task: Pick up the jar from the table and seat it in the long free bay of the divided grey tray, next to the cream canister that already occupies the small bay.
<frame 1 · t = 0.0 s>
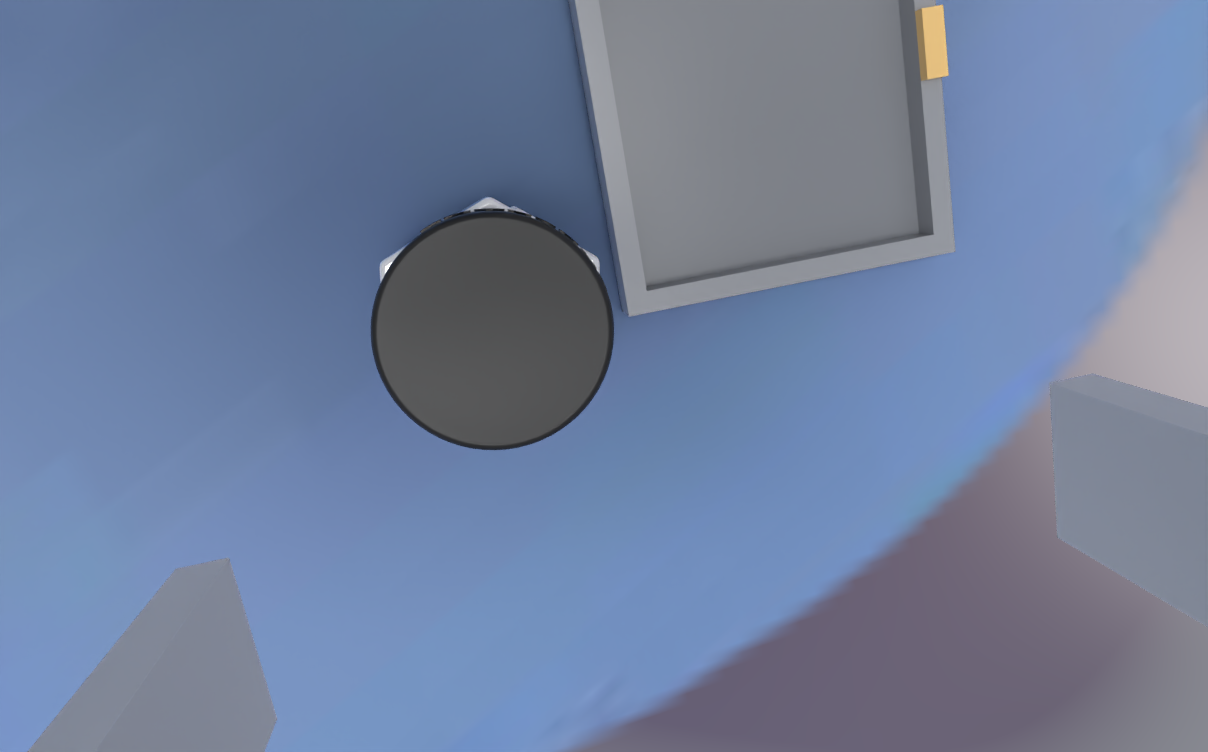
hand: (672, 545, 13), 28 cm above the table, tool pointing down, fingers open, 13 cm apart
jar: (490, 293, 40), on the table
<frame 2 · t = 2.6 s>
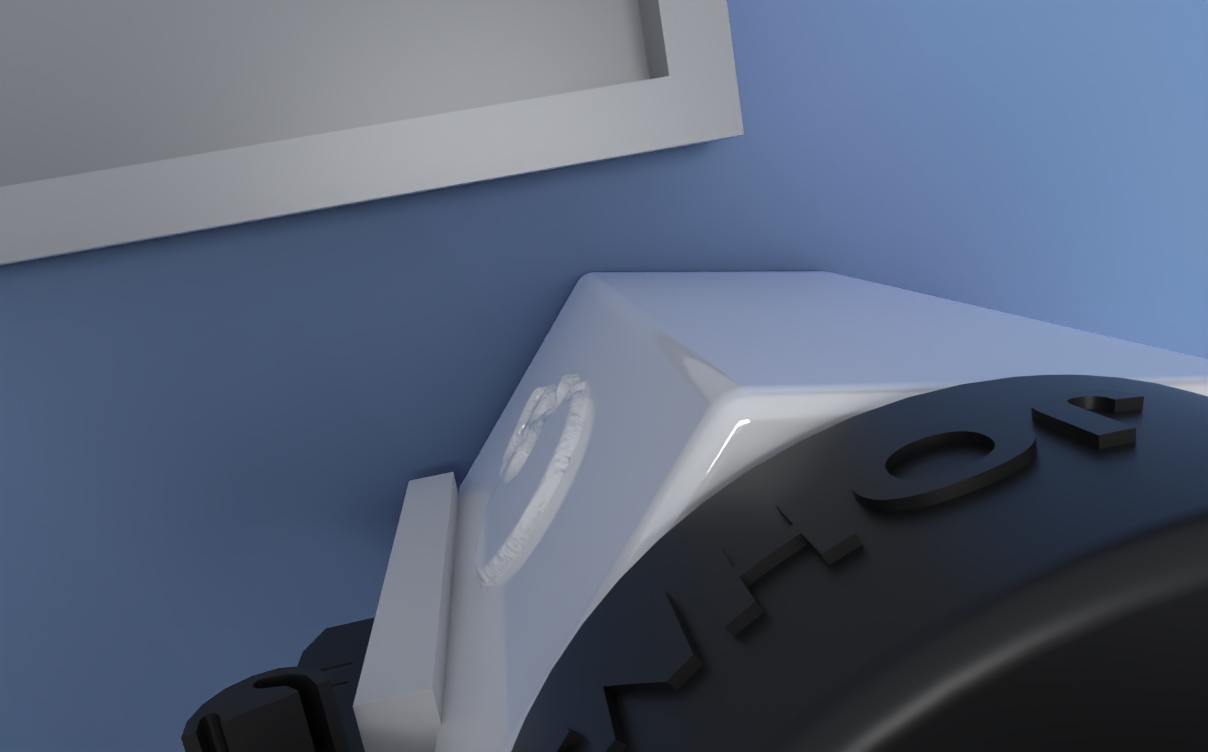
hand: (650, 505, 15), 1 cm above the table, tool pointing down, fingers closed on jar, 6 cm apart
jar: (697, 475, 16), on the table, touching gripper
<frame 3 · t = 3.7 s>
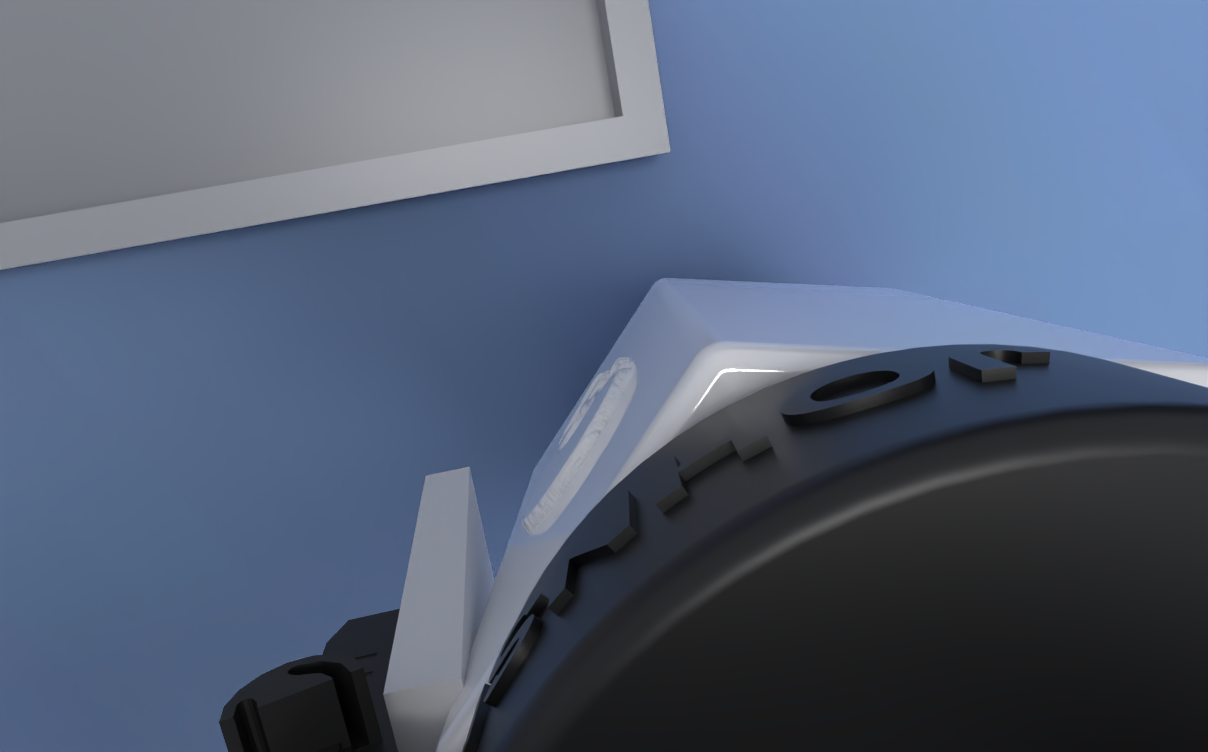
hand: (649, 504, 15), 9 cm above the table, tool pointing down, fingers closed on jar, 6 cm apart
jar: (759, 478, 17), point 7 cm above the table, touching gripper
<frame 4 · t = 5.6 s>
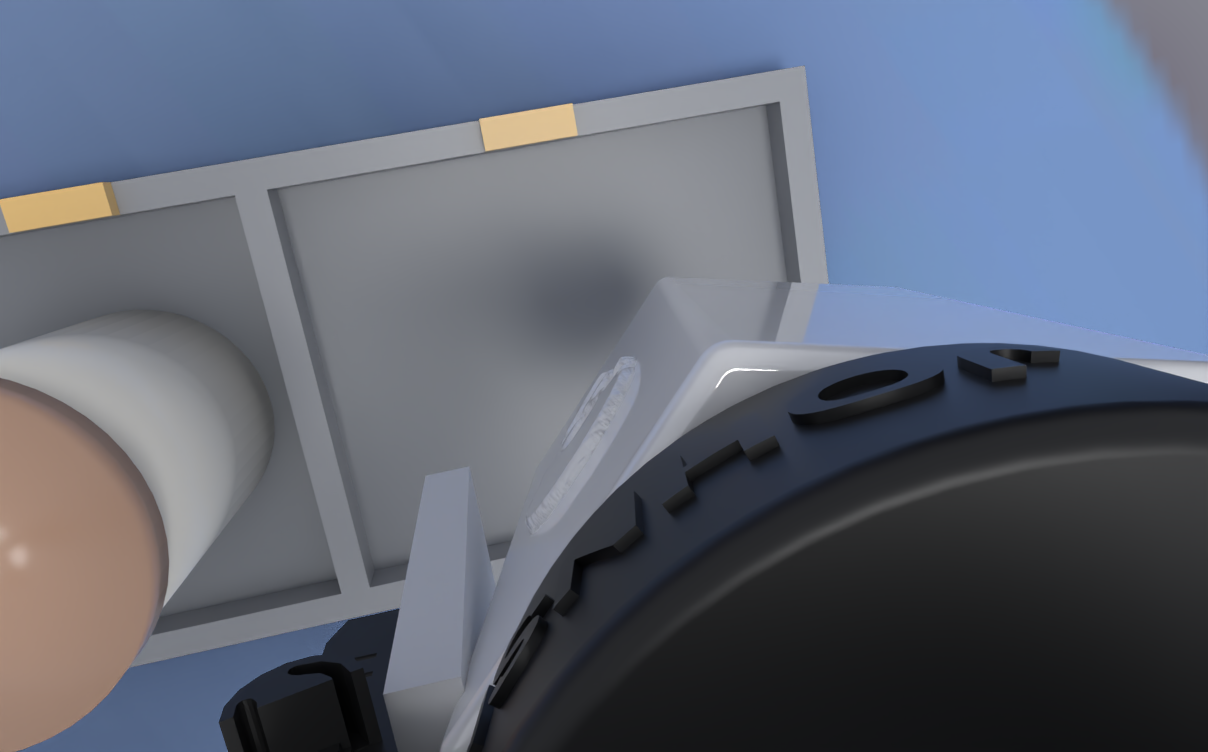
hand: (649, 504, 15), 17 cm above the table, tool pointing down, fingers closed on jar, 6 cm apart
twin canister: (159, 420, 30), resting on divided grey tray
jar: (762, 478, 17), point 15 cm above the table, touching gripper
divided grey tray: (414, 370, 31), on the table
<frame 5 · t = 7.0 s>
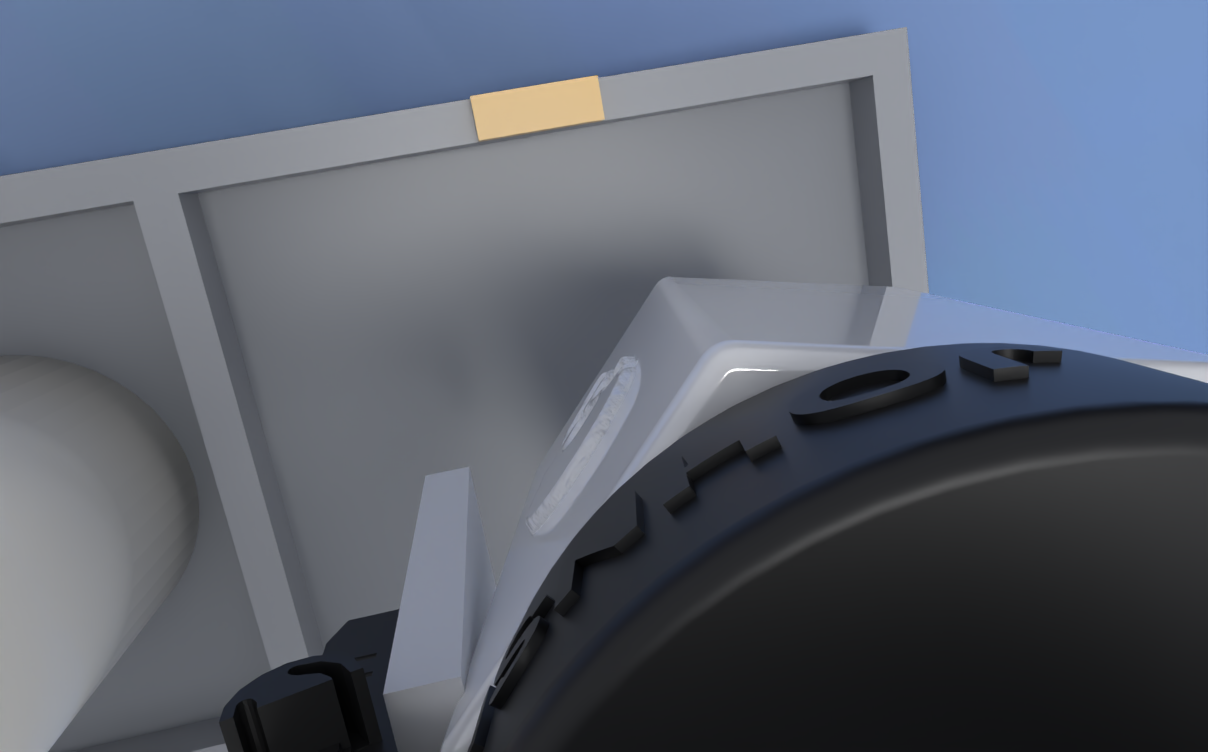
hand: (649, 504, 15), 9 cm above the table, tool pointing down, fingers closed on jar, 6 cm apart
twin canister: (45, 499, 22), resting on divided grey tray
jar: (763, 478, 17), point 8 cm above the table, touching gripper
divided grey tray: (386, 430, 23), on the table
when the fingers open (5 cm above the table, at t = 7.9 s): jar stays where it is, point 3 cm above the table.
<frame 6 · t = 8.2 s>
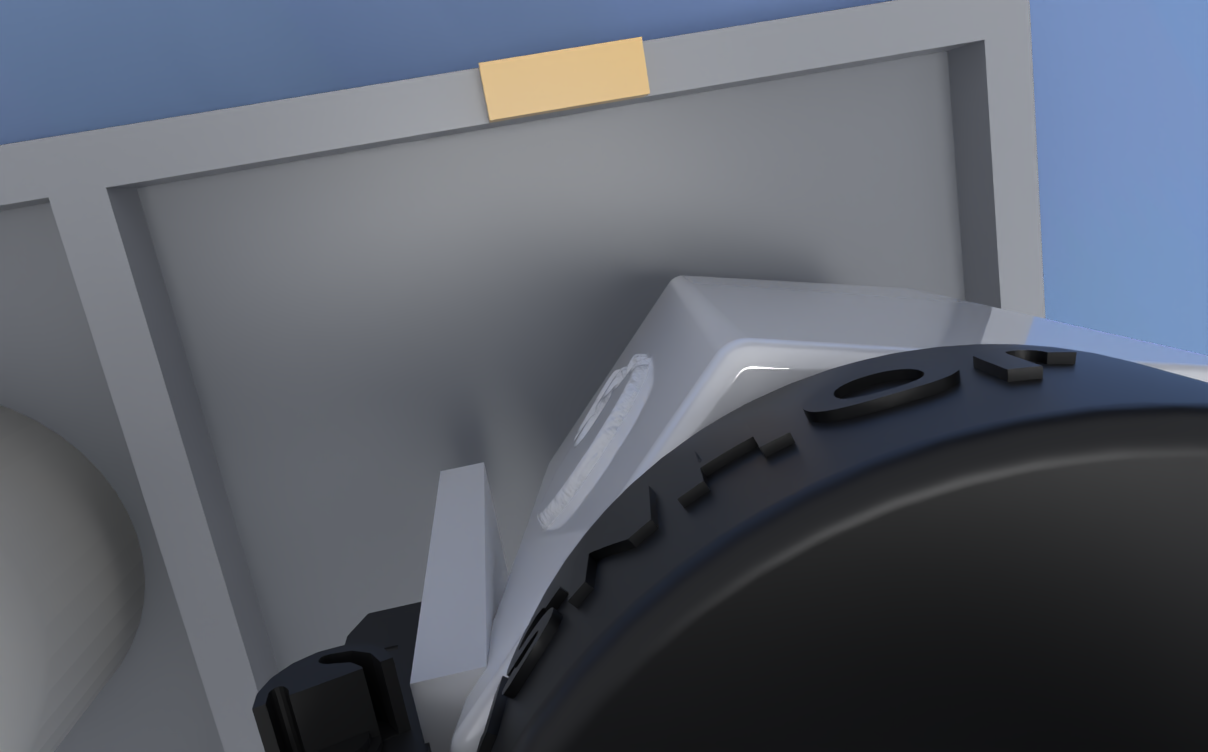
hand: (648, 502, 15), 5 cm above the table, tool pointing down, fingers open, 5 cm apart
jar: (773, 477, 17), point 3 cm above the table, touching gripper
divided grey tray: (375, 478, 19), on the table
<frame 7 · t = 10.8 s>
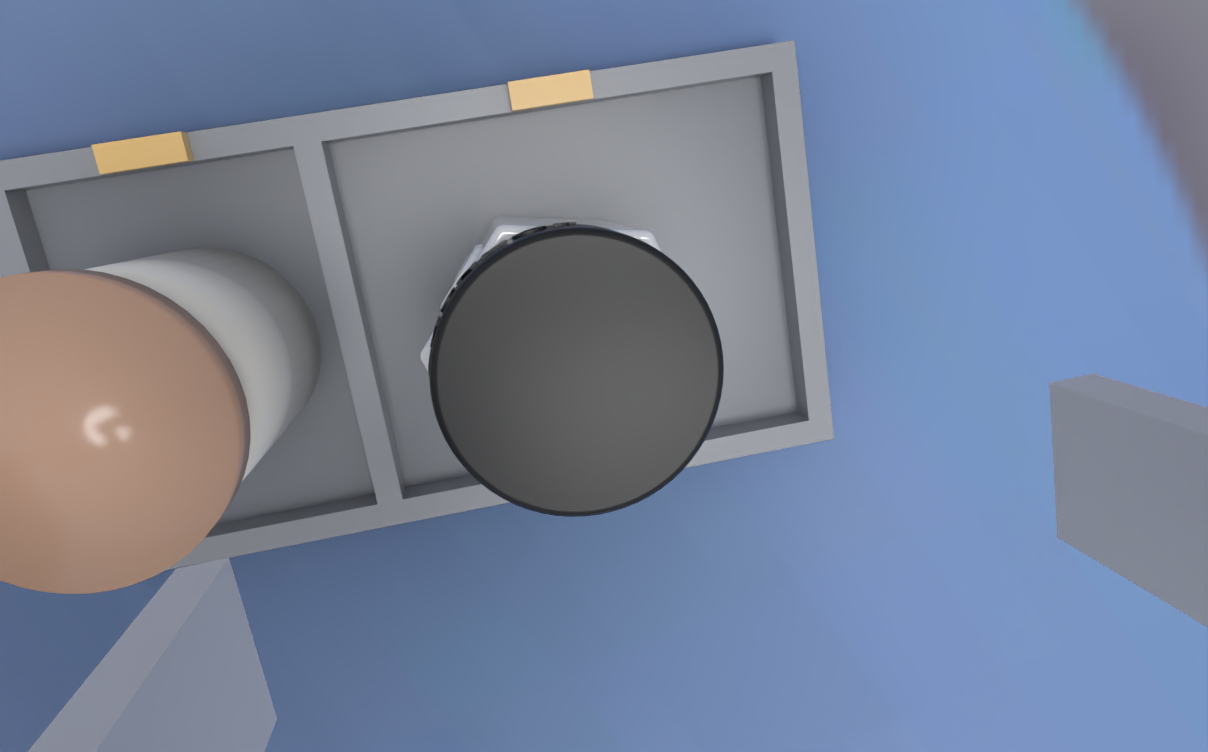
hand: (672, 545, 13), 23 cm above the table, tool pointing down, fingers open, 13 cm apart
twin canister: (219, 348, 34), resting on divided grey tray
jar: (549, 314, 35), resting on divided grey tray
divided grey tray: (445, 308, 35), on the table
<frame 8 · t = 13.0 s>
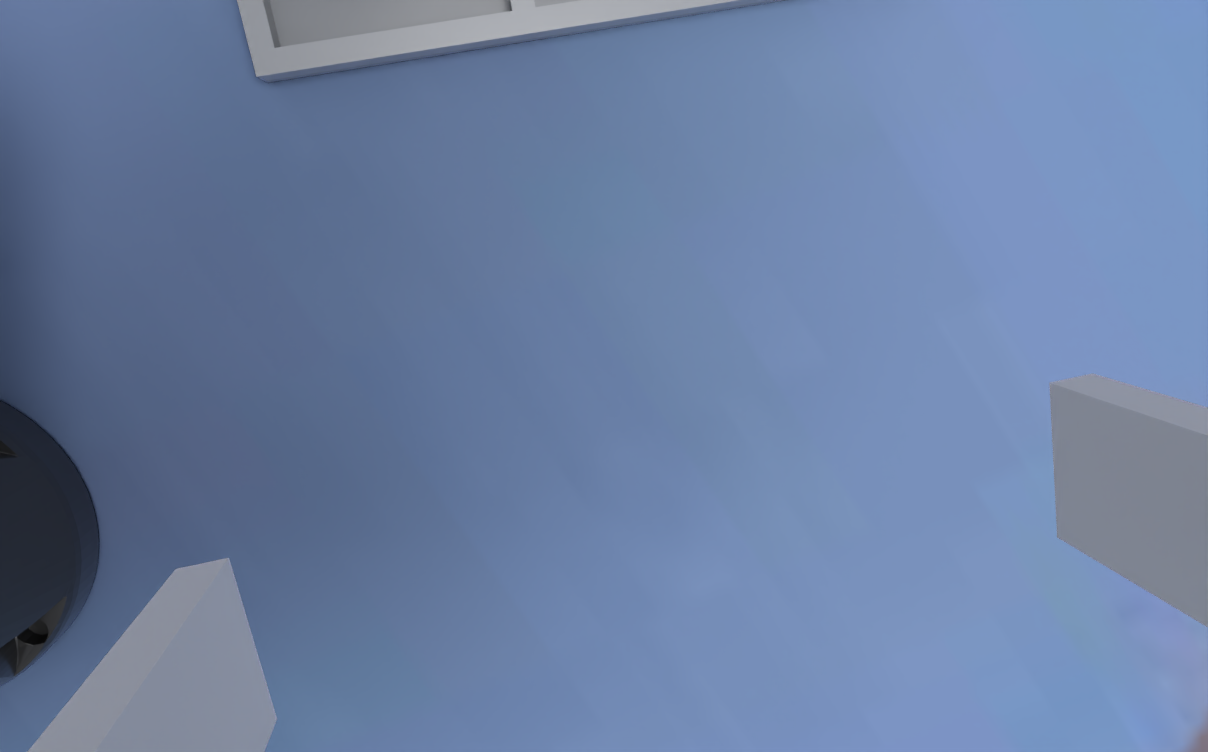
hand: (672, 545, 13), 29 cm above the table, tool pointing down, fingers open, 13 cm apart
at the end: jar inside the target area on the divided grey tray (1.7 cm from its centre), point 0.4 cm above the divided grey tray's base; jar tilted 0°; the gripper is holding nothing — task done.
